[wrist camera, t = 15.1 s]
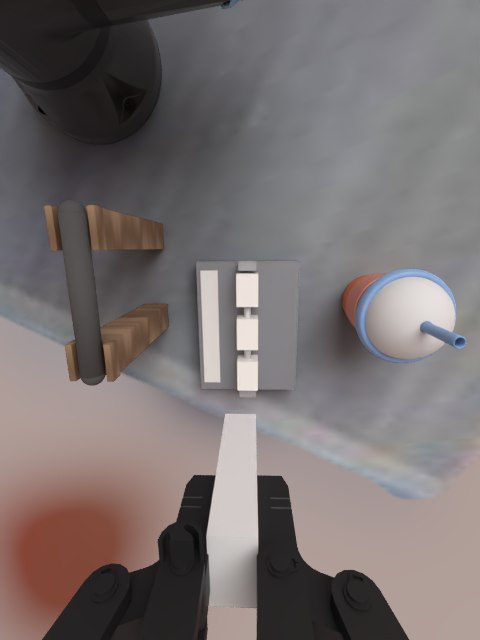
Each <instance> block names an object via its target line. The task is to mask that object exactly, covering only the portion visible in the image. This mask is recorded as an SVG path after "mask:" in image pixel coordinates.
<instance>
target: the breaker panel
mask: <svg viewBox="0 0 480 640" xmlns="http://www.w3.org/2000/svg"><path fill="white" fill-rule="evenodd" d="M237 272H258V307H251V315H258V350H251V355H258V389H275V390H295V385H296V357H297V329H298V301H299V272H300V261H297V260H250V261H198V262H196V276H197V300H198V324H199V349H200V373H201V389H237V359H238V355H244V350H237V315H244V307H236V273H237ZM239 397H253V398H256V391H239Z"/></svg>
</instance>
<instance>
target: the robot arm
mask: <svg viewBox="0 0 480 640" xmlns="http://www.w3.org/2000/svg"><path fill="white" fill-rule="evenodd" d="M239 1H243V0H0V68H1V69H3V70H4V71H5V72H7V73H8V74H10V75H11V76H12V77H13V79H14V80H15V82H16V83H17V84H18V86H19V87H20V89H21V90H22V91H23V92H24V93H25V95H26V97H27V98H28V100H29V101H30V102H31V104H32V105H33V106H34V108H35V109H36V110H37V111H38V112H39V113H40V114H41V115H42V116H43V117H44V118H45V119H46V120H47V121H48V122H49V123H51V124H52V125H53V126H55V127H56V128H58V129H59V130H61V131H63V132H64V133H66V134H68V135H69V136H71V137H73V138H75V139H77V140H80V141H83V142H87V143H92V144H108V143H113V142H117V141H120V140H122V139H124V138H126V137H128V136H130V135H131V134H133V133H134V132H135V131H137V130H138V129H139V128H140V127H141V126H142V125H143V124H144V122H145V121H146V120H147V118H148V117H149V115H150V114H151V112H152V110H153V108H154V106H155V103H156V101H157V98H158V94H159V90H160V84H161V59H160V53H159V49H158V45H157V42H156V39H155V36H154V34H153V32H152V30H151V27H150V25H149V23H148V21H147V20H148V19H153V18H158V17H163V16H169V15H174V14H179V13H184V12H189V11H195V10H200V9H205V8H210V7H215V6H221V7H222V9H228V8H231V7H233V6H234V5H235V4H236V3H237V2H239ZM158 547H159V559H160V560H159V561H157V562H156V563H154V564H153V565H151V566H149V567H146V568H143V569H140V570H137V571H134V572H130V573H129V572H128V570H127V568H125V567H124V566H122V565H121V564H109V565H105V566H102V567H100V568H99V569H97V570H96V571H94V572H93V573H92V574H91V575H90V576H89V577H88V578H87V579H86V580H85V581H84V583H83V584H82V586H81V587H80V588H79V590H78V591H77V593H76V594H75V595H74V597H73V598H72V599H71V601H70V602H69V603H68V605H67V606H66V608H65V609H64V610H63V612H62V613H61V614H60V616H59V617H58V619H57V620H56V621H55V623H54V624H53V626H52V627H51V628H50V630H49V631H48V632H47V634H46V635H45V636H44V638H43V639H42V640H207V630H208V628H207V613H208V605H209V606H213V607H240V608H257V640H409V639H408V637H407V635H406V634H405V632H404V630H403V628H402V627H401V625H400V623H399V622H398V620H397V618H396V617H395V615H394V613H393V612H392V610H391V608H390V606H389V605H388V603H387V601H386V600H385V598H384V596H383V595H382V593H381V591H380V590H379V588H378V587H377V586H376V585H375V583H374V582H373V581H372V580H371V579H370V578H368V577H367V576H366V575H364V574H363V573H360V572H357V571H355V570H344V571H342V572H340V573H338V574H337V575H336V576H335V578H333V577H331V576H328V575H326V574H323V573H320V572H318V571H316V570H314V569H313V568H311V567H310V566H309V565H308V564H307V563H306V562H305V561H304V560H303V559H302V557H301V555H300V553H299V551H298V548H297V543H296V536H295V529H294V522H293V516H292V509H291V502H290V497H289V489H288V485H287V484H286V482H285V481H284V480H283V478H282V476H257V457H256V414H225V420H224V427H223V433H222V439H221V446H220V453H219V459H218V465H217V472H216V476H212V475H211V476H210V475H194V476H193V477H192V478H191V480H190V481H189V482H188V483H187V485H186V488H185V492H184V496H183V499H182V503H181V508H180V510H179V514H178V518H177V521H176V522H175V523H174V524H171V525H169V526H168V527H167V528H166V529H165V530H164V531H163V532H162V533H161V535H160V537H159V539H158Z"/></svg>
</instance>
